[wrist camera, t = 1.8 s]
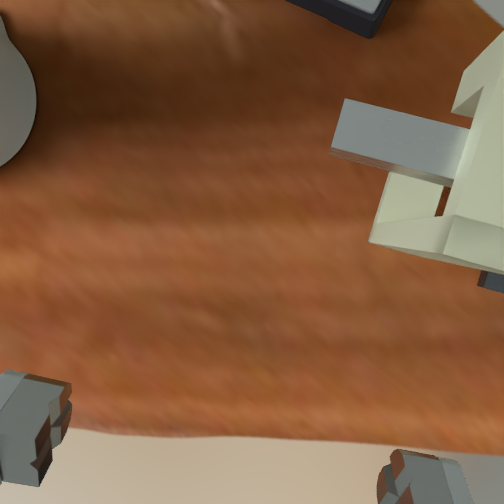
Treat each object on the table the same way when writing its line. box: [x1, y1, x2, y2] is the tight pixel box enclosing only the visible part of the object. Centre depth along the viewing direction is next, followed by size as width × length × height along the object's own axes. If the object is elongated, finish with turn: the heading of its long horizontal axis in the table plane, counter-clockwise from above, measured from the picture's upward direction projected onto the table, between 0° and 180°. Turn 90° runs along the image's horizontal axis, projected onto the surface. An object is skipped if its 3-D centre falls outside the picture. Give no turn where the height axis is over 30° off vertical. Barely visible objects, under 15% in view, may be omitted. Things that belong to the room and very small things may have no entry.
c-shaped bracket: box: [368, 31, 504, 275], centre depth 26 cm, size 4×9×20 cm, turn 164°
